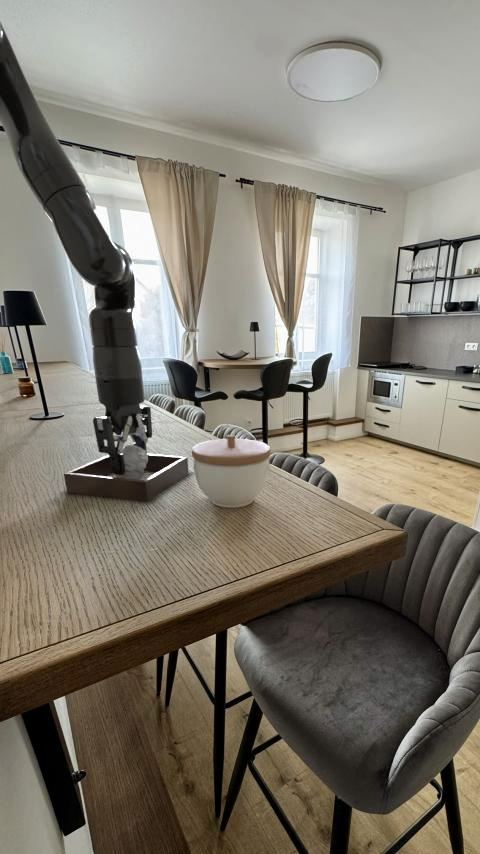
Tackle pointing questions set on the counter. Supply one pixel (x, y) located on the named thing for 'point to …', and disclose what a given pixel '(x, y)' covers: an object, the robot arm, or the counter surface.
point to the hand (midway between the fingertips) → (130, 468)
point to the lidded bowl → (231, 470)
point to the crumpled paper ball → (134, 462)
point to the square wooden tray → (98, 484)
